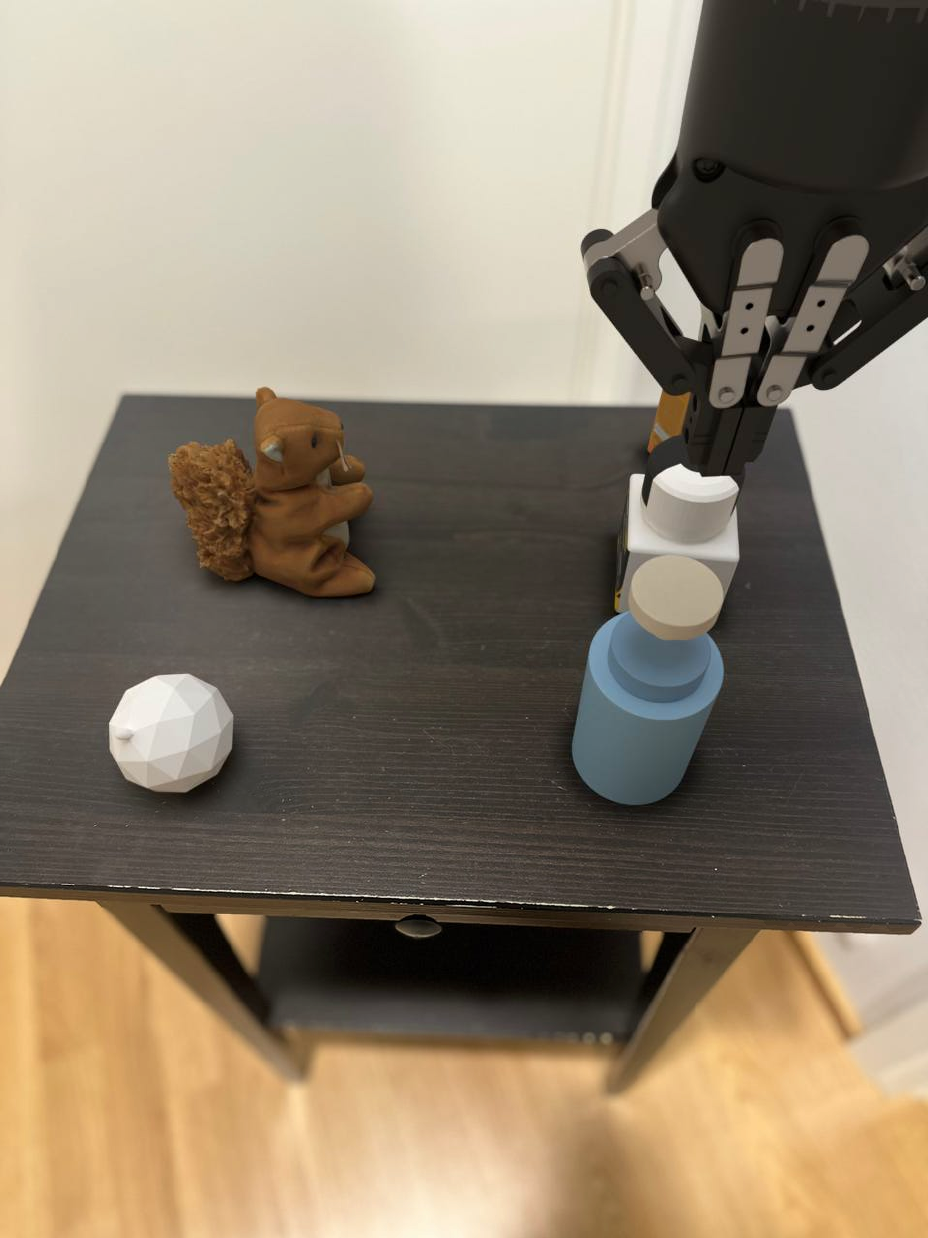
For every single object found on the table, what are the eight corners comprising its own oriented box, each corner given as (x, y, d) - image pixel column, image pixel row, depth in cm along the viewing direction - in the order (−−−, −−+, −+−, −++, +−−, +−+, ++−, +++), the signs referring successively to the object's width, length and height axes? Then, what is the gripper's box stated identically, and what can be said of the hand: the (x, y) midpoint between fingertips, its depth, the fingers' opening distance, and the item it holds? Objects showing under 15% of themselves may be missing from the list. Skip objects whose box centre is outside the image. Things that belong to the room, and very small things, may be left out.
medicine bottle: (617, 539, 66) (641, 415, 56) (713, 548, 65) (754, 424, 55) (613, 614, 62) (639, 494, 52) (716, 625, 61) (761, 505, 51)
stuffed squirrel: (384, 595, 63) (365, 460, 52) (187, 615, 62) (127, 482, 51) (376, 497, 69) (357, 357, 58) (196, 514, 68) (144, 376, 57)
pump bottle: (674, 701, 57) (714, 587, 48) (696, 802, 53) (745, 700, 43) (565, 706, 57) (583, 593, 47) (579, 808, 53) (602, 707, 43)
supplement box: (669, 478, 70) (694, 375, 62) (645, 451, 71) (667, 348, 63) (703, 465, 70) (733, 362, 62) (679, 439, 72) (705, 336, 64)
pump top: (699, 592, 46) (713, 552, 43) (718, 662, 43) (733, 624, 40) (616, 596, 45) (624, 556, 43) (629, 666, 43) (639, 628, 40)
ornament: (259, 788, 54) (166, 799, 46) (168, 786, 57) (66, 796, 50) (261, 675, 55) (169, 668, 47) (170, 679, 58) (71, 673, 50)
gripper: (625, 1, 19) (562, 538, 33) (1228, -19, 19) (910, 524, 33) (581, -106, 23) (542, 407, 37) (1070, -120, 23) (848, 395, 37)
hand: (715, 461), depth 35 cm, fingers closed
